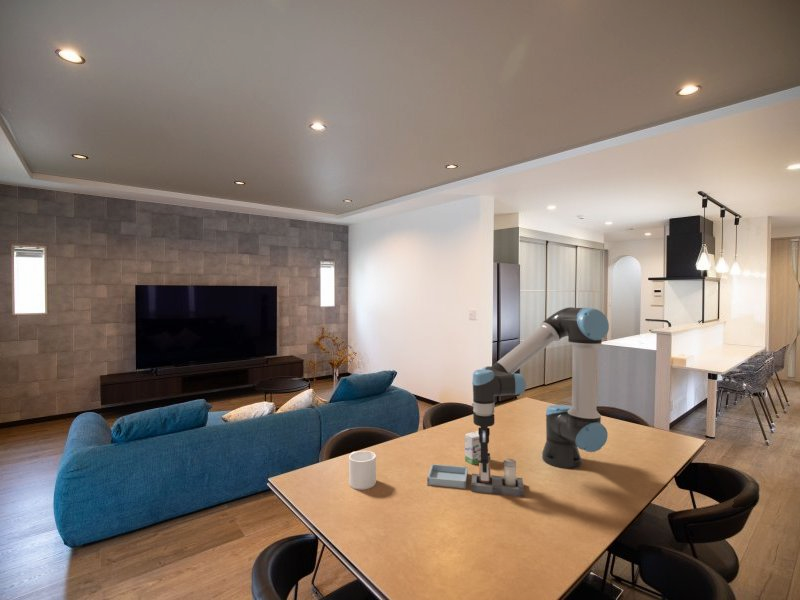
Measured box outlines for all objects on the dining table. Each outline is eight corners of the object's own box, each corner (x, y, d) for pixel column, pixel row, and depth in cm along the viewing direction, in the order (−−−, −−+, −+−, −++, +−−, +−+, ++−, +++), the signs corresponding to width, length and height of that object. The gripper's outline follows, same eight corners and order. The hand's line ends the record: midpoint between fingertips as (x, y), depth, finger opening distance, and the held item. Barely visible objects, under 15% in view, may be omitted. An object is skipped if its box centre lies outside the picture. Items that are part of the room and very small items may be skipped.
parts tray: (467, 474, 149) (467, 467, 149) (465, 489, 137) (465, 481, 137) (431, 471, 152) (431, 464, 152) (427, 486, 141) (427, 477, 141)
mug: (381, 484, 142) (380, 457, 142) (357, 493, 136) (357, 464, 136) (363, 472, 152) (363, 446, 152) (341, 479, 146) (340, 452, 146)
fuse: (515, 486, 139) (515, 459, 138) (516, 492, 134) (516, 464, 134) (503, 485, 139) (503, 458, 139) (504, 491, 135) (504, 463, 135)
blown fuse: (490, 482, 141) (490, 455, 141) (490, 487, 136) (490, 459, 136) (479, 481, 142) (478, 454, 141) (478, 486, 137) (478, 458, 137)
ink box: (472, 466, 157) (472, 437, 157) (464, 461, 161) (464, 433, 161) (488, 461, 161) (487, 433, 161) (480, 457, 165) (479, 430, 165)
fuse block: (522, 485, 140) (522, 478, 140) (524, 497, 132) (524, 490, 132) (472, 480, 144) (472, 473, 144) (471, 492, 136) (471, 484, 136)
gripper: (474, 405, 148) (475, 466, 148) (472, 419, 131) (473, 487, 131) (494, 406, 146) (495, 467, 147) (494, 421, 130) (496, 489, 130)
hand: (484, 477), depth 139 cm, fingers closed on blown fuse, 4 cm apart
